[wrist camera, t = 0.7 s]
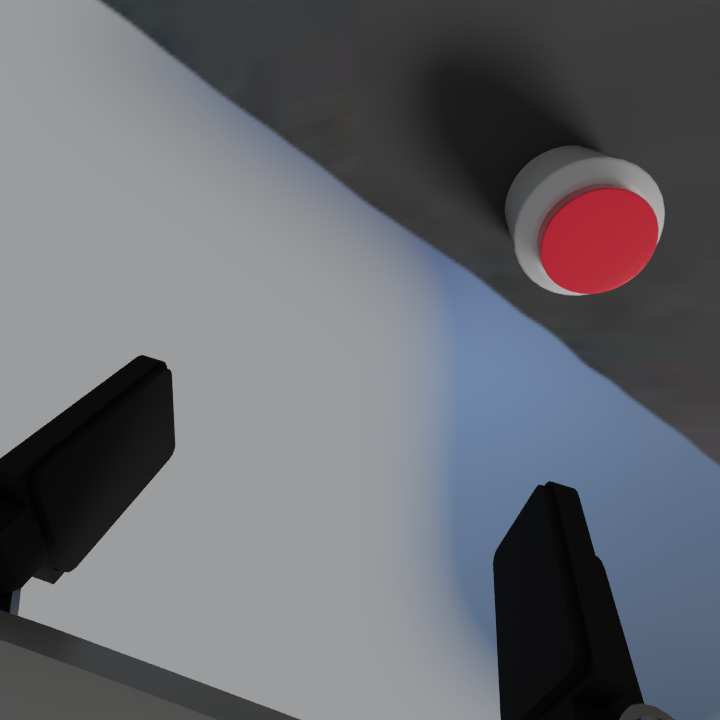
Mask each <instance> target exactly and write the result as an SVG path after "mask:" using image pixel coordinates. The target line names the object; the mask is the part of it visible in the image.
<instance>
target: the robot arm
mask: <svg viewBox="0 0 720 720" xmlns="http://www.w3.org/2000/svg"><path fill="white" fill-rule="evenodd" d="M174 432H175V431H174V410H173V390H172V373H171V371H170V370H169V369H167V365H166V363H165V362H163V361H160V360H157V359H153V358H150V357H147V356H144V355H141V356H138V357H136V358H135V359H134V360H132V361H131V362H130V363H128V364H127V365H126V366H124V367H123V368H122V369H120V370H119V371H118V372H116V373H115V374H114V375H112V376H111V377H109V378H108V379H107V380H106V381H104V382H103V383H101V384H100V385H99V386H97V387H96V388H95V389H93V390H92V391H91V392H89V393H88V394H87V395H85V396H84V397H82V398H81V399H80V400H79V401H77V402H76V403H74V404H73V405H72V406H70V407H69V408H68V409H66V410H65V411H64V412H62V413H61V414H60V415H58V416H57V417H56V418H54V419H53V420H52V421H50V422H49V423H47V424H46V425H45V426H44V427H42V428H41V429H40V430H38V431H37V432H35V433H34V434H33V435H31V436H30V437H29V438H27V439H26V440H25V441H23V442H22V443H21V444H19V445H18V446H17V447H15V448H14V449H12V450H11V451H10V452H8V453H7V454H6V455H4V456H3V457H2V458H0V720H299V719H297V718H294V717H291V716H289V715H286V714H284V713H281V712H278V711H276V710H273V709H270V708H268V707H265V706H262V705H260V704H256V703H254V702H252V701H249V700H246V699H243V698H241V697H238V696H236V695H233V694H230V693H228V692H225V691H222V690H219V689H217V688H214V687H211V686H209V685H206V684H203V683H201V682H198V681H195V680H192V679H190V678H187V677H184V676H182V675H179V674H176V673H174V672H171V671H168V670H166V669H163V668H160V667H158V666H155V665H152V664H149V663H147V662H144V661H141V660H139V659H136V658H133V657H130V656H128V655H125V654H122V653H120V652H117V651H114V650H111V649H109V648H106V647H103V646H100V645H98V644H95V643H92V642H89V641H87V640H84V639H81V638H78V637H76V636H73V635H71V634H68V633H65V632H62V631H60V630H57V629H54V628H51V627H49V626H46V625H43V624H40V623H37V622H34V621H31V620H28V619H25V618H22V617H20V616H18V610H19V601H20V592H21V588H22V587H23V586H24V584H25V583H26V582H27V581H28V580H29V579H30V578H31V577H35V578H38V579H41V580H43V581H46V582H49V583H52V584H54V583H55V582H56V581H57V580H58V579H59V578H60V577H61V576H62V574H63V573H64V572H70V571H72V570H73V569H74V568H76V567H77V566H78V565H79V563H80V562H81V561H82V560H83V559H84V558H85V556H86V555H87V554H88V553H89V552H90V551H91V549H92V548H93V547H94V546H95V545H96V544H97V542H98V541H99V540H100V539H101V538H102V537H103V536H104V534H105V533H106V532H107V531H108V529H110V527H111V526H112V525H113V524H114V523H115V522H116V520H117V519H118V518H119V517H120V516H121V515H122V513H123V512H124V511H125V510H126V509H127V508H128V507H129V505H130V504H131V503H132V502H133V501H134V500H135V498H136V497H137V496H138V495H139V494H140V493H141V491H142V490H143V489H144V488H145V487H146V486H147V484H148V483H149V482H150V481H151V480H152V479H153V478H154V476H155V475H156V474H157V473H158V472H159V470H160V469H161V468H162V467H163V466H164V465H165V463H166V462H167V461H168V460H169V459H170V457H171V456H172V454H173V452H174V449H175V433H174ZM493 571H494V590H495V591H494V592H495V610H496V611H495V612H496V632H497V652H498V673H499V693H500V713H501V720H674V719H673V718H672V717H671V716H670V715H668V714H667V713H665V712H663V711H661V710H660V709H658V708H656V707H654V706H650V705H646V704H644V701H643V698H642V695H641V691H640V688H639V684H638V681H637V677H636V674H635V671H634V667H633V664H632V660H631V657H630V653H629V650H628V647H627V643H626V640H625V636H624V633H623V629H622V626H621V623H620V620H619V616H618V612H617V609H616V606H615V602H614V599H613V596H612V592H611V588H610V585H609V582H608V578H607V575H606V571H605V568H604V566H603V563H602V561H601V560H600V559H599V558H598V557H597V556H595V552H594V548H593V545H592V542H591V538H590V534H589V531H588V527H587V524H586V520H585V517H584V513H583V509H582V506H581V502H580V498H579V495H578V493H577V491H576V490H575V489H574V488H570V487H567V486H564V485H561V484H557V483H554V482H550V481H549V482H547V483H546V485H545V486H543V485H538V486H537V487H536V489H535V490H534V492H533V493H532V495H531V496H530V498H529V500H528V501H527V503H526V504H525V506H524V508H523V509H522V511H521V512H520V514H519V515H518V517H517V518H516V520H515V522H514V523H513V525H512V526H511V528H510V529H509V531H508V533H507V534H506V536H505V537H504V539H503V541H502V542H501V544H500V545H499V547H498V548H497V550H496V552H495V555H494V561H493Z"/></svg>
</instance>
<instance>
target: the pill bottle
mask: <svg viewBox="0 0 720 720" xmlns="http://www.w3.org/2000/svg"><path fill="white" fill-rule="evenodd" d="M664 215H665V209H664V203H663V197H662V195H661V192H660V190H659V188H658V185H657V184H656V182H655V181H654V180H653V179H652V177H651V176H650V175H649V174H648V173H647V172H646V171H644V170H643V169H642V168H640V167H639V166H638V165H636V164H633V163H631V162H629V161H626V160H624V159H621V158H618V157H615V156H612V155H609V154H606V153H603V152H600V151H597V150H594V149H591V148H588V147H583V146H577V145H576V146H562V147H558V148H554V149H551V150H549V151H546V152H544V153H542V154H540V155H539V156H537V157H536V158H534V159H533V160H531V161H530V162H529V163H528V164H527V165H526V166H525V167H524V168H522V170H521V171H520V172H519V173H518V175H517V176H516V177H515V179H514V181H513V183H512V184H511V186H510V188H509V191H508V194H507V197H506V203H505V220H506V224H507V227H508V230H509V234H510V237H511V240H512V243H513V247H514V250H515V253H516V256H517V260H518V262H519V264H520V266H521V267H522V269H523V271H524V272H525V273H526V274H527V276H528V277H529V278H530V279H531V280H532V281H533V282H535V283H536V284H538V285H539V286H541V287H542V288H545V289H547V290H549V291H552V292H554V293H559V294H564V295H587V294H594V293H602V292H605V291H609V290H612V289H615V288H617V287H619V286H621V285H623V284H625V283H626V282H628V281H629V280H631V279H632V278H634V277H635V276H636V275H637V274H638V273H639V272H640V271H641V270H642V269H643V268H644V267H645V265H646V264H647V263H648V261H649V260H650V258H651V256H652V254H653V252H654V251H655V247H656V245H657V243H658V241H659V239H660V236H661V233H662V229H663V226H664Z"/></svg>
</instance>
